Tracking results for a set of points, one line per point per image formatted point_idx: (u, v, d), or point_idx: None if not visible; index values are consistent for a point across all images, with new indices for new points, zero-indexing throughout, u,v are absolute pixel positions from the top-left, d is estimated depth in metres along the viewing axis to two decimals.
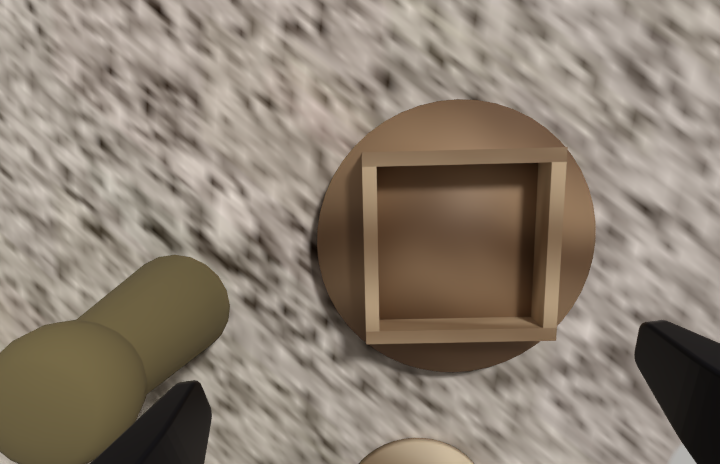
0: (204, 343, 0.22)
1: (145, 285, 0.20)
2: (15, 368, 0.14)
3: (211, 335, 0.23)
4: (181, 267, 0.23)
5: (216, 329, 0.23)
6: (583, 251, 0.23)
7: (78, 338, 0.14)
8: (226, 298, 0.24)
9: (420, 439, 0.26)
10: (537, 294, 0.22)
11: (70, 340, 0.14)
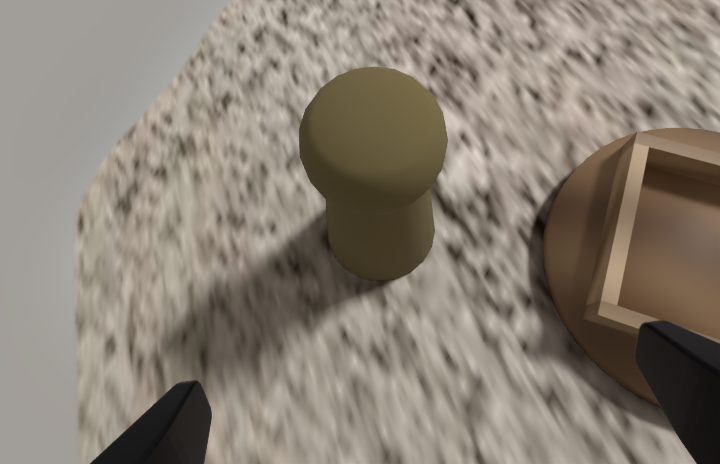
0: (414, 250, 0.20)
1: None
2: (378, 71, 0.14)
3: (419, 251, 0.21)
4: None
5: (422, 251, 0.21)
6: None
7: None
8: (433, 237, 0.23)
9: None
10: None
11: None
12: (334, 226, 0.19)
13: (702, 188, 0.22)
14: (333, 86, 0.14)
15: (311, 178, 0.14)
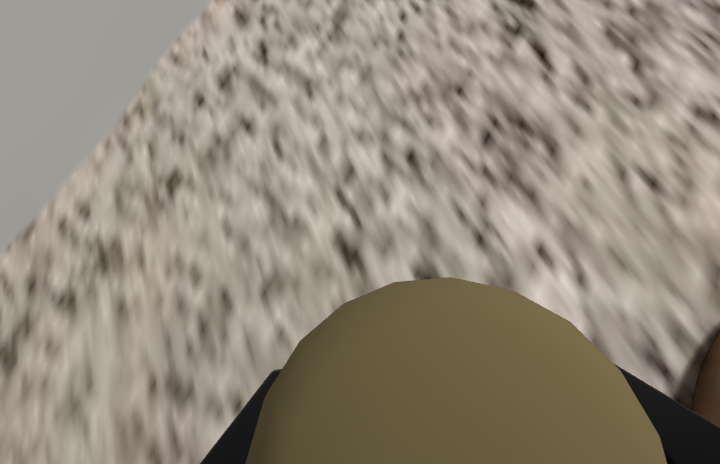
0: None
1: None
2: (473, 323, 0.05)
3: None
4: None
5: None
6: None
7: None
8: None
9: None
10: None
11: None
12: None
13: None
14: (340, 372, 0.05)
15: None
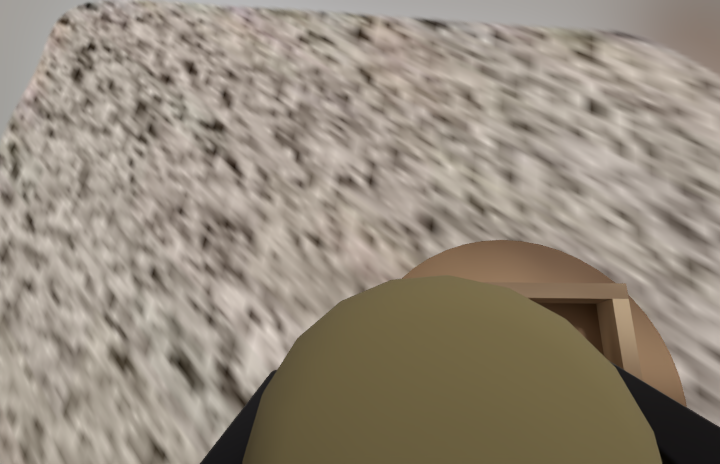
0: None
1: None
2: (469, 320, 0.05)
3: None
4: None
5: None
6: None
7: None
8: None
9: None
10: None
11: None
12: None
13: None
14: (338, 368, 0.05)
15: None
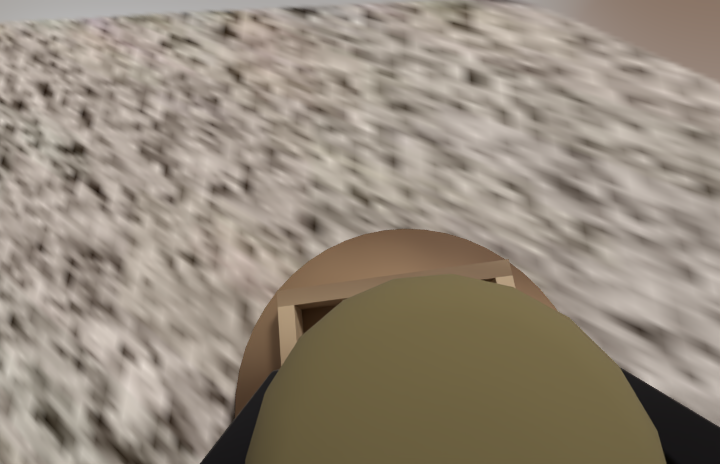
0: None
1: None
2: (473, 318, 0.05)
3: None
4: None
5: None
6: None
7: None
8: None
9: None
10: None
11: None
12: None
13: None
14: (342, 367, 0.05)
15: None
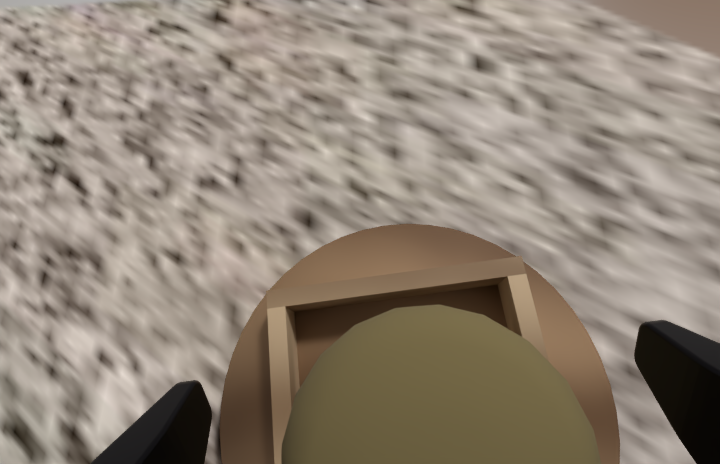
0: None
1: None
2: (454, 345, 0.06)
3: None
4: None
5: None
6: (599, 402, 0.16)
7: None
8: None
9: None
10: None
11: (531, 345, 0.07)
12: None
13: (380, 310, 0.17)
14: (355, 380, 0.06)
15: None
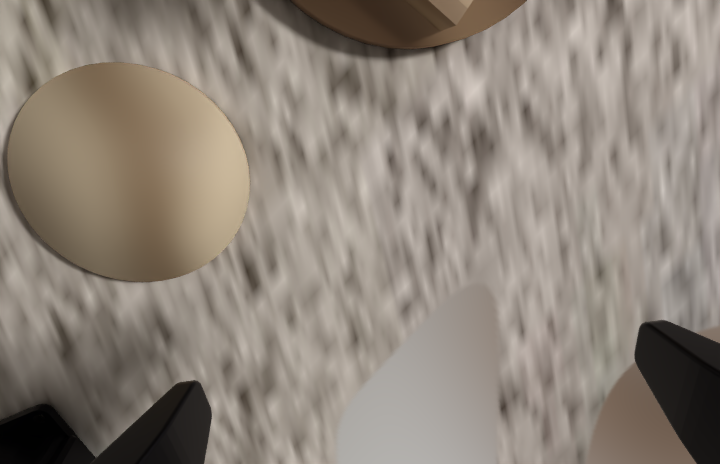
0: None
1: None
2: None
3: None
4: None
5: None
6: None
7: None
8: None
9: (197, 89, 0.17)
10: None
11: None
12: None
13: None
14: None
15: None
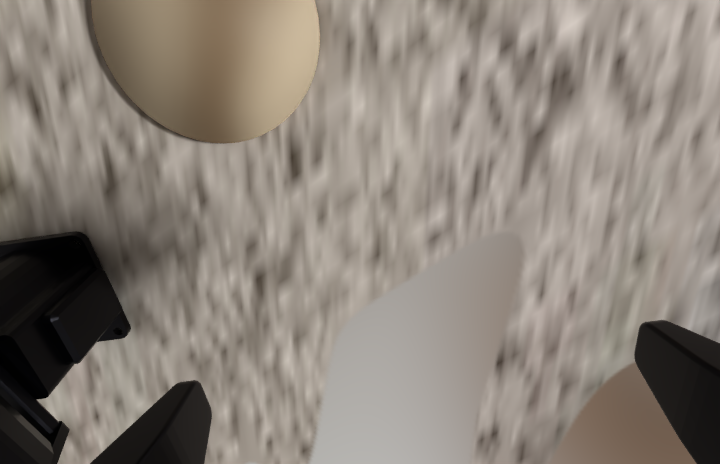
0: None
1: None
2: None
3: None
4: None
5: None
6: None
7: None
8: None
9: None
10: None
11: None
12: None
13: None
14: None
15: None
